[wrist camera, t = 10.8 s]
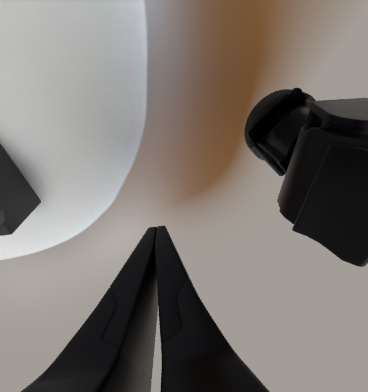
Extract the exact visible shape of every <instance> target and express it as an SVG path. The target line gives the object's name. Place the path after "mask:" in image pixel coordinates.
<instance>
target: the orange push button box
mask: <svg viewBox="0 0 368 392" xmlns="http://www.w3.org/2000/svg"><path fill="white" fill-rule="evenodd" d="M40 203H41V201H40V200H39V198H38V197H37V195H36V194H35V193H34V191H33V190H32V188H31V187H30V185H29V184H28V183H27V181H26V180H25V178H24V177H23V176H22V174H21V173H20V171H19V170H18V169H17V167H16V166H15V164H14V163H13V162H12V160H11V159H10V157H9V156H8V155H7V153H6V152H5V150H4V149H3V147H2V146H1V145H0V236H1V235H9V234H12V233H13V232H14V231H15V230H16V229H17V228H18V227H19V226H20V224H21V223H22V222H23V221H24V220H25V219H26V218H27V217H28V216H29V215H30V214H31V212H32V211H33V210H34V209H35V208H36V207H37V206H38V205H39V204H40Z"/></svg>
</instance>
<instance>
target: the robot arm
mask: <svg viewBox="0 0 368 392" xmlns="http://www.w3.org/2000/svg"><path fill="white" fill-rule="evenodd" d="M296 91H297V94H296V95H295V96H294V93H295V92H296ZM252 132H254V133H253V135H251V133H252ZM247 135H248V136H249V138H250V139H251V140H252V141H253V142H254V143H255V144H256V146H255V151H256V152H257V153H258V154H259V155H260V156H261V157H262V158H263V159H264V161H265V162H266V163H267V164H268V165H269V166H270V167H271V168H272V169H273V170H274V171H275V172H276V173H277V174H278V175H279V176H283V175H284V174H286V175H285V178H284V181H283V184H282V187H281V190H280V193H279V196H278V200H277V201H278V203H279V207H280V212H281V214H282V215H283V216H284V217H285V218H286V219H287V220H289V221H290V222H291V223H292V224H294V226H293V229H292V230H293V231H295V232H298V233H300V234H303V235H306V236H308V237H310V238H311V239H313V240H315V241H317V242H319V243H320V244H322V245H323V246H324V247H326V248H327V249H328V250H330V251H331V252H332V253H334V254H335V255H336V256H337V257H339V258H340V259H341V260H343V261H346V262H349V263H351V264H354V265H356V266H360V267H361V266H362V267H363V266H365V265H366V264H367V263H368V98H357V99H340V100H323V101H308V100H307V98H306V97H305V95H304V93H303V92H302V90H301V89H300V88H294V89H292V90H291V91H290V92H289V93H288V94H287V95H286V96H285V97H284V98H283V99H282V100H280V101H279V102H278V103H277V104H276V105H275V106H274V107H273V108H272V109H271V110H270V111H269V112H268V113H267V114H266V115H265V116H263V117H262V118H261V119H260V120H259V121H258V122H257V123H256V124H255V125H254V126H253V127H252V128H251V129H250V130H249V131H248V133H247ZM158 306H159V321H160V336H161V351H162V374H161V392H269V391H268V389H267V388H266V387H265V386H264V385H263V384H262V383H261V381H260V380H259V379H258V378H257V377H256V376H255V375H254V373H253V372H252V371H251V370H250V369H249V368H248V367H247V365H246V364H245V363H244V362H243V361H242V360H241V359H240V357H239V356H238V355H237V354H236V353H235V351H234V350H233V349H232V347H231V346H230V345H229V343H228V342H227V340H226V339H225V338H224V336H223V334H222V333H221V331H220V330H219V328H218V327H217V325H216V323H215V322H214V320H213V319H212V317H211V316H210V314H209V313H208V311H207V310H206V308H205V306H204V305H203V303H202V301H201V299H200V298H199V296H198V294H197V293H196V290H195V288H194V287H193V284H192V282H191V280H190V278H189V276H188V274H187V272H186V269H185V268H184V265H183V263H182V261H181V259H180V257H179V255H178V252H177V250H176V248H175V246H174V244H173V242H172V239H171V237H170V235H169V233H168V231H167V229H166V227H165V226H158V227H150V228H148V229H147V231H146V233H145V234H144V236H143V237H142V239H141V240H140V242H139V243H138V245H137V246H136V248H135V250H134V251H133V252H132V254H131V255H130V257H129V259H128V260H127V262H126V263H125V265H124V266H123V268H122V269H121V271H120V272H119V274H118V275H117V277H116V278H115V280H114V281H113V283H112V284H111V286H110V288H109V289H108V290H107V292H106V294H105V295H104V296H103V298H102V299H101V301H100V302H99V304H98V305H97V307H96V308H95V309H94V311H93V312H92V314H91V315H90V316H89V318H88V319H87V320H86V321H85V323H84V324H83V325H82V327H81V328H80V330H78V332H77V333H76V334H75V336H74V337H73V338H72V339H71V341H70V342H69V343H68V344H67V346H66V347H65V348H64V350H63V351H62V352H61V354H60V355H59V356H58V357H57V358H56V360H55V361H54V362H53V363H52V364H51V366H50V367H49V368H48V369H47V370H46V371H45V372H44V373H43V374H42V375H41V376H39V377H38V378H37V379H36V380H35V381H34V382H33V383H31V384H30V385H29V386H27V387H26V388H25V389H24V390H22V391H21V392H150V391H151V379H152V368H153V356H154V346H155V333H156V323H157V311H158Z"/></svg>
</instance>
